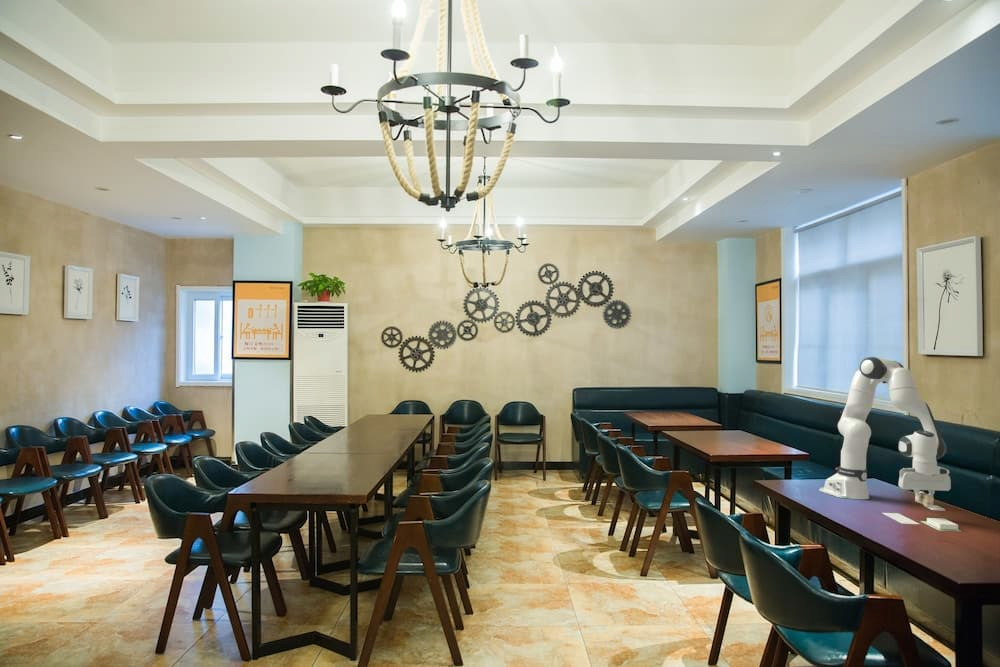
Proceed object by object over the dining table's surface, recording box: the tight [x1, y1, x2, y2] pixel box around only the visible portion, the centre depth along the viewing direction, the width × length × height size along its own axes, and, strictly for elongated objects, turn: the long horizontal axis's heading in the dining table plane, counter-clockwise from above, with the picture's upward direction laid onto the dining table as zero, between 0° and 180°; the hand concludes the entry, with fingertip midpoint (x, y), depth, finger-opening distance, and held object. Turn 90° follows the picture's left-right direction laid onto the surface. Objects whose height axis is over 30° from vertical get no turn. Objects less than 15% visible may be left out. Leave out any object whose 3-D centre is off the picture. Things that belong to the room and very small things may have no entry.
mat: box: [920, 520, 961, 532], centre depth 260 cm, size 13×9×1 cm
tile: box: [926, 517, 959, 530], centre depth 259 cm, size 2×7×9 cm
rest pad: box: [882, 512, 921, 525], centre depth 270 cm, size 16×7×1 cm, turn 176°
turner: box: [914, 490, 946, 512], centre depth 269 cm, size 15×5×4 cm, turn 175°
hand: (924, 500), depth 272 cm, fingers closed on turner, 2 cm apart
